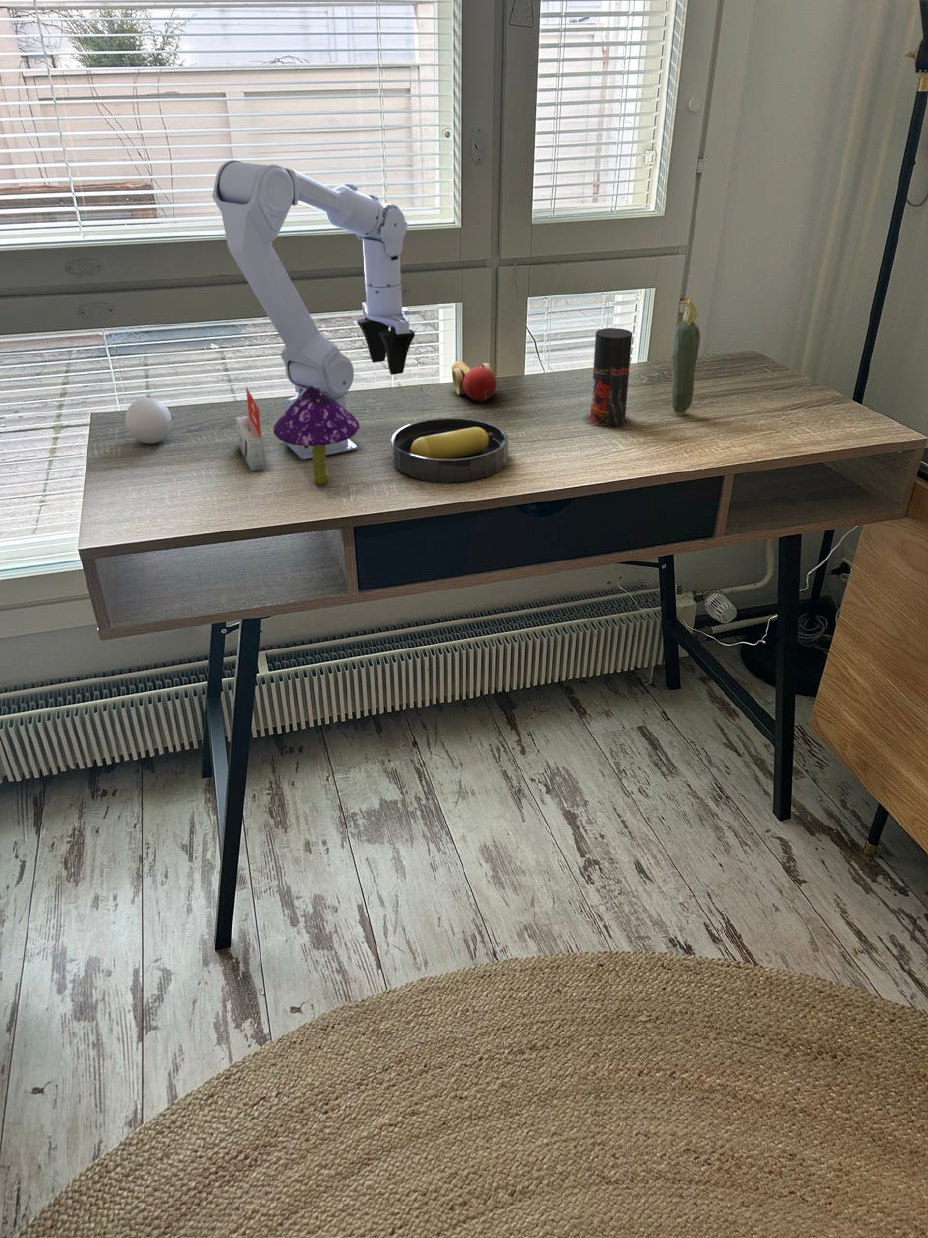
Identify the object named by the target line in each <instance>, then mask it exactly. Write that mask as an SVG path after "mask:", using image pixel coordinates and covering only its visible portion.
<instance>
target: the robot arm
mask: <svg viewBox="0 0 928 1238" xmlns="http://www.w3.org/2000/svg"><path fill="white" fill-rule="evenodd" d="M358 190H359V187H358V186H357V185H355V184H353V183H345V184H344V185H338V186H336V187H334V188H330V187H328V186H327V185H324V184H322V183H320V182H318V181H316V180H314V179H312V178H310V177H308V176H307V175H305V174H303V173H300V172H299V171H296V170H295V169H292V168H287V167H286V168H285V167H284V166H281V165H279V164H260V163H250V162H242V161H240V160H234V159H231V160H227V161H224V162H223V164H221V166H220V167H219V168H218V170H217V173H216V176H215V180H214V186H213V190H212V199H213V201H214V202H215V204H216V206H217V207H218V210H219V211H220V213H221V217H222V222H223V228H224V232H225V238H226V244H227V248H228V250H229V252H230V254H231V256H232V258H233V259H234V261H235V263H236V265H237V267H238V268H239V270H240V272H241V273H242V275H243V276H244V278H245V280H246V282H247V283H248V285H249V287H250V288H251V290H252V291H253V293H254V295H255V297H256V299H257V301H258V302H259V304H260V305H261V307H262V308H263V310H264V312H265V313H266V315H267V317H268V319H269V320H270V322H271V323H272V325H273V327H274V329H275V331H276V332H277V334H278V336H279V337H280V339H281V340H282V342H283V344H284V346H283V348H282V350H281V352H280V357H281V359H282V361H283V363H284V366H285V367H284V368H285V374H286V377H287V379H288V380H289V382H290V383H291V384H292V385H294V390H295V392H296V393H297V395H294V396H293V397H289V398H286V399H285V400H284V403H283V412H284V413H285V412H286V411H287V410H288V408H289V407H290V406H291V405H292V404H293V403H294V402H295V401H296V400H297V399H298V398H299V397H300V396H301V395H302V394H303V393H304V392H305V391H306V390H307V388H309V387H310V386H316V387H318V388H319V389H321V390H322V391H323V392H324V393H325V394H326V395H328V396H329V397H331V398H333V399H334V400H336V401H337V402H338V403H339V404H340V405H341V406H342V407H343V408H344V409H346V408H347V407H346V398H345V397H346V395H348V391H349V390H350V389H351V386H352V385H353V383H354V378H355V377H354V376H355V372H354V369H355V368H354V366H353V363H352V361H351V360H350V358H349V357H348V356H346V355H344V354H343V353H341V351H340V349H339V348H338V346H337V345H336V344H335V343H333V342H332V341H331V340H330V339H328V338H327V337H326V336H324V334H322V333H321V332H320V331H319V329H318V327H317V324H316V323H315V322H314V320H313V318H312V316H311V313H310V312H309V311H308V309H307V307H306V305H305V302H303V299H302V298H301V296H300V295H299V292H298V291H297V289H296V287H295V285H294V283H293V282H292V279H291V278H290V276H289V274H288V272H287V270H286V268H285V267H284V265H283V264H282V260H280V257H279V256H278V254H277V252H276V251H275V248H274V247H273V242H274V241H275V240H276V239H277V237H279V234H280V231H281V229H282V227H283V225H284V222H285V220H286V218H287V216H288V214H289V212H290V209H291V208H292V206H298V204H299V205H303V206H306V207H309V208H312V209H315V210H317V211H319V212H322V213H323V212H324V214H325V217H326V219H327V222H329V224H331V225H332V226H335V227H336V228H340V229H342V230H344V231H347V232H349V233H352V234H355V235H356V237H357V238H358V239H359V241H362V247H363V263H364V264H363V265H364V276H365V277H364V281H365V294H366V295H365V299H366V301H365V302H362V303H361V305H362V307H361V308H362V315H364V316H365V317H364V318H359V319H357V320H356V322H357V325H358V327H359V329H361V332H362V334H363V336H364V339H365V342H366V346H367V348H368V352H369V355H370V359H371V362H372V363H374V364H375V363H379V362H385V360H387V366H388V370H389V373H390V375H391V376H393V375H399V374H400V375H401V374H404V372H405V371H404V370H405V365H406V361H407V357H408V353H409V349H410V346H411V344H412V343H413V340H414V339H415V335H416V332H415V331H414V330H412V329H410V321H409V320H408V318H406V315H409V314H410V310H409V308H407V307H403V301H402V300H403V297H402V275H401V274H402V273H401V271H402V270H401V254H402V251H403V250H404V244H403V243H404V239H405V236H406V233H407V230H408V221H406V219H405V215H404V213H403V211H402V210H401V209H400V207H398V206H397V205H396V204H391V203H384V202H380V201H379V197H378V196H376V195H374V194H369V195H367V194H364V193H362V192H360V191H358ZM346 410H347V409H346ZM284 413H283V414H284ZM286 445H287V446H288V447H289V449H291V450H292V451H293V452H294V453H295V454H296V455H297V456H298V457H299V459H301V460H309V459H313V446H302V445H294V444H289V443H286ZM355 450H358V446H357V444H355V443H354V442H353V441H352V440H350V438H349V439H347V440H344V441H341V442H338V443H334V444H328V445H326V450H325V451H326V456H330V455H335V454H336V455H337V454H340V453H345V452H351V451H355Z"/></svg>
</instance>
